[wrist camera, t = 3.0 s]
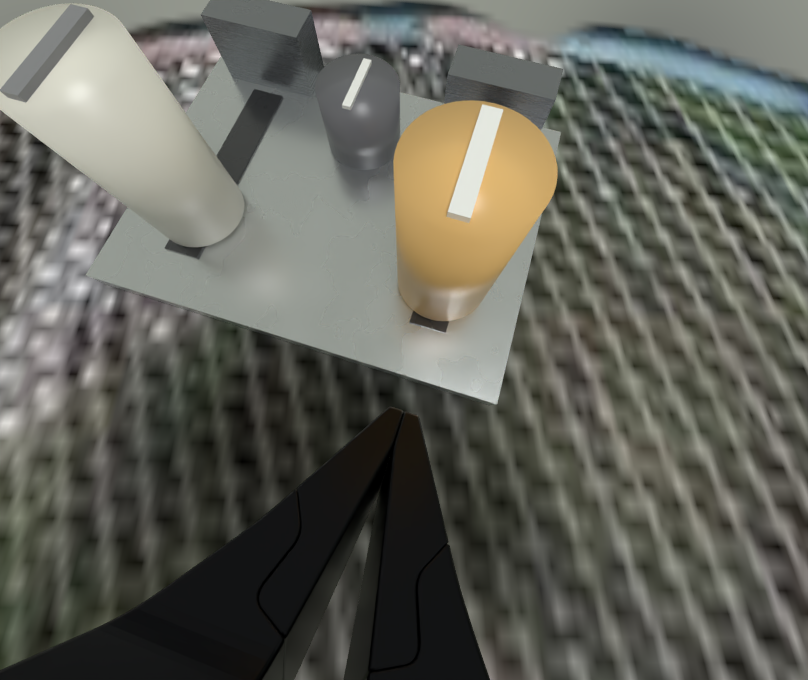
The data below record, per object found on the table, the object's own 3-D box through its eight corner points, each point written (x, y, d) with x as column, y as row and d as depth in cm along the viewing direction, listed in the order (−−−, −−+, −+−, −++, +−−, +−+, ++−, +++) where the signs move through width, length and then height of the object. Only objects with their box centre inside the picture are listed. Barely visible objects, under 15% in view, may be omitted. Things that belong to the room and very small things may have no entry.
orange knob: (475, 332, 14) (543, 253, 7) (385, 306, 15) (370, 205, 8) (496, 251, 15) (574, 114, 8) (412, 228, 16) (420, 77, 9)
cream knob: (221, 257, 15) (70, 123, 8) (142, 233, 16) (-69, 85, 9) (258, 185, 16) (150, 12, 9) (182, 165, 17) (24, -18, 10)
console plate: (489, 405, 15) (521, 400, 11) (107, 285, 17) (11, 241, 12) (551, 149, 19) (592, 75, 15) (235, 70, 20) (193, -18, 16)
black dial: (387, 178, 17) (384, 124, 14) (318, 159, 17) (300, 103, 14) (409, 122, 18) (410, 61, 15) (343, 105, 18) (331, 42, 15)
